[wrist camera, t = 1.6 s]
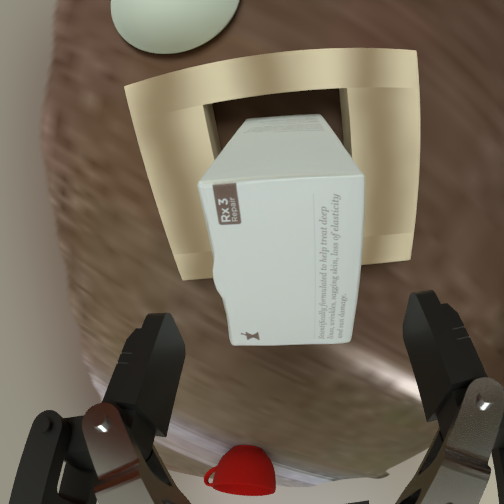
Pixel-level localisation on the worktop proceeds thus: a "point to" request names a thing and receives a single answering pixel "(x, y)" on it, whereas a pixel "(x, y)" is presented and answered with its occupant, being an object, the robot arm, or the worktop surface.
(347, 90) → the pocket board
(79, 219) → the worktop surface
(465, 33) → the worktop surface
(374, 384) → the worktop surface
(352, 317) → the skincare box
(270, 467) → the ceramic cup
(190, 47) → the pale green disc
